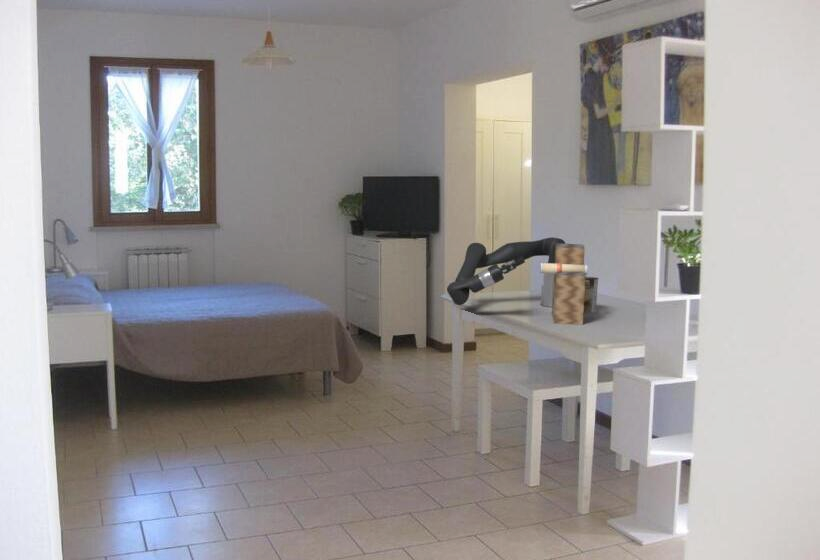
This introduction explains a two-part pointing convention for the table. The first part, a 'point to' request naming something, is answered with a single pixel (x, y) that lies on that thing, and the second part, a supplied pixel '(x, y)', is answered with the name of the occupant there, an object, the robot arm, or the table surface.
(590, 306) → the coffee box
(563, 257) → the stand
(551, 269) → the cream long cylinder
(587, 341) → the table surface
